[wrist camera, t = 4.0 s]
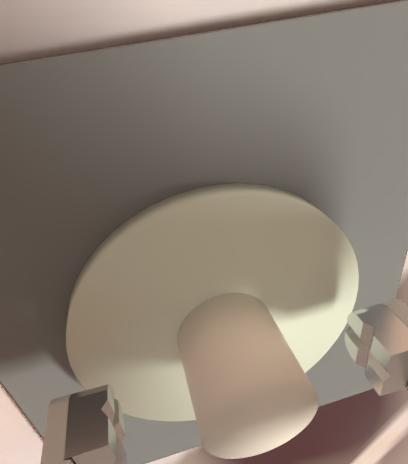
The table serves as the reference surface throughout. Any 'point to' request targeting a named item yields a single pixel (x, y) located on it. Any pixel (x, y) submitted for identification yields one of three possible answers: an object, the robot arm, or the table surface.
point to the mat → (196, 170)
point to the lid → (215, 313)
